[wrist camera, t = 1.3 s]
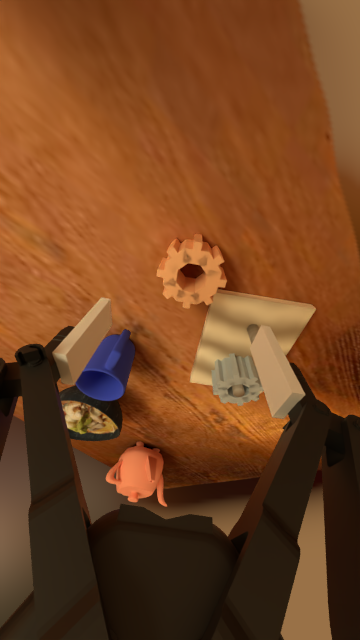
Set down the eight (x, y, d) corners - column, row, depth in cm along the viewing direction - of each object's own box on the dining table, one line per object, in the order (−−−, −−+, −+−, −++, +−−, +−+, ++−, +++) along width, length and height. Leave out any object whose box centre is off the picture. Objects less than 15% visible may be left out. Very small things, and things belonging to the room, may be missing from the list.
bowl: (139, 408, 52) (128, 449, 44) (83, 410, 55) (62, 448, 47) (117, 365, 43) (98, 407, 35) (51, 369, 46) (18, 409, 37)
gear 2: (208, 356, 37) (209, 377, 33) (256, 350, 35) (264, 371, 31) (215, 385, 42) (216, 407, 38) (258, 381, 40) (265, 403, 36)
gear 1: (165, 228, 26) (159, 235, 22) (230, 239, 26) (236, 248, 22) (160, 287, 31) (154, 302, 27) (214, 296, 31) (217, 313, 27)
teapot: (160, 438, 61) (152, 493, 50) (172, 460, 70) (167, 511, 59) (114, 438, 64) (96, 491, 53) (131, 459, 73) (119, 508, 62)
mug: (154, 327, 36) (141, 368, 28) (131, 364, 42) (115, 406, 34) (112, 307, 34) (85, 345, 26) (95, 349, 40) (69, 390, 32)
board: (213, 288, 30) (217, 311, 25) (311, 304, 31) (337, 330, 25) (190, 376, 43) (189, 405, 37) (259, 387, 43) (269, 417, 37)
